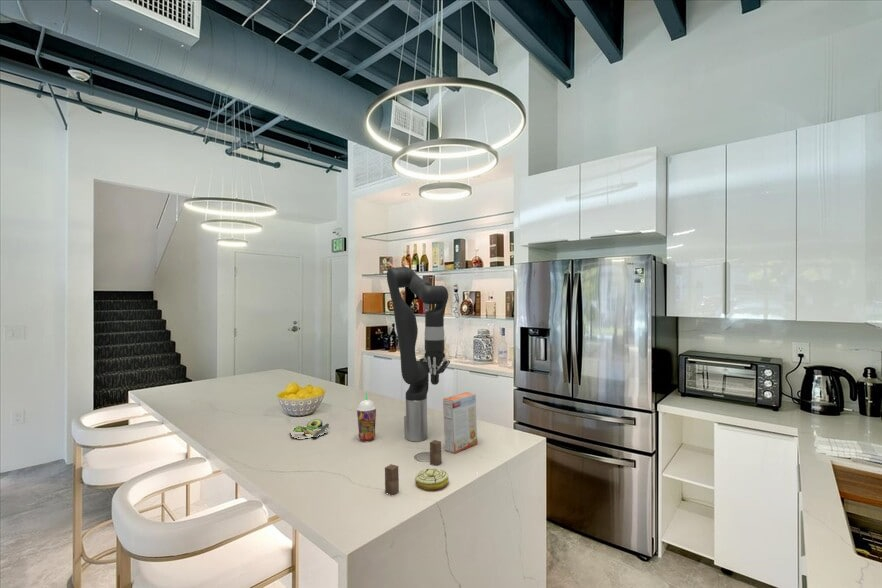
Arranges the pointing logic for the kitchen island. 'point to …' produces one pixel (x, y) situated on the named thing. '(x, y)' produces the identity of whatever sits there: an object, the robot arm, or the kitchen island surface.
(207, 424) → the kitchen island surface
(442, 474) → the decorated donut
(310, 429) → the salad plate
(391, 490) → the posts
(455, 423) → the cracker box
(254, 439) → the kitchen island surface
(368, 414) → the smoothie
